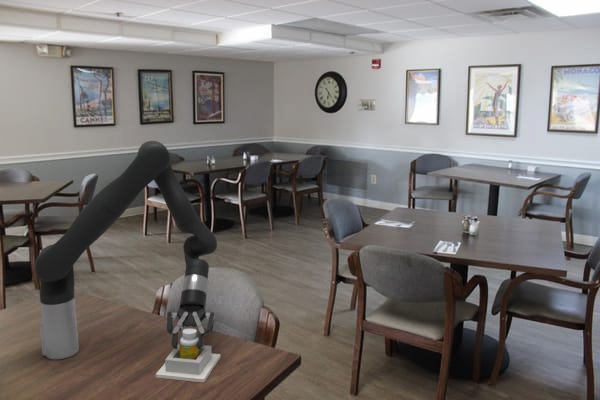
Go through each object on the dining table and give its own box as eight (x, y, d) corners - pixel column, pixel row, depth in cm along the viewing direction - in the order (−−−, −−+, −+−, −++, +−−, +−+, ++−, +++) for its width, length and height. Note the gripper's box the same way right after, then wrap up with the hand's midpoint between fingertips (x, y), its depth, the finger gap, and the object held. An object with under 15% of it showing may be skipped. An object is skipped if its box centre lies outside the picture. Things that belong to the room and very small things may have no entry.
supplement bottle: (179, 367, 143) (180, 335, 142) (179, 359, 148) (179, 327, 147) (199, 366, 144) (199, 333, 143) (198, 358, 150) (198, 326, 148)
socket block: (155, 377, 141) (155, 362, 140) (176, 353, 154) (175, 339, 153) (203, 382, 138) (203, 367, 138) (220, 357, 152) (220, 343, 151)
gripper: (167, 287, 149) (158, 344, 140) (216, 288, 150) (210, 344, 140) (172, 297, 156) (164, 352, 146) (219, 298, 156) (214, 352, 147)
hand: (187, 348), depth 143 cm, fingers open, 6 cm apart
